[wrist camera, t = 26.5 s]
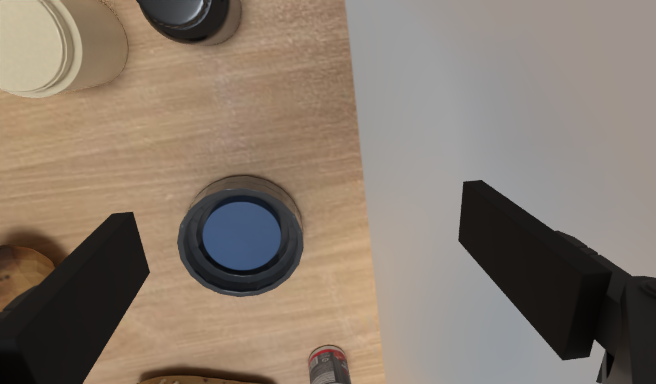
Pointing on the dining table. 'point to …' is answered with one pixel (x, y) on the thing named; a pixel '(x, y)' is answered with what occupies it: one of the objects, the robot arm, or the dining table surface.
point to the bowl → (232, 279)
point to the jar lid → (242, 233)
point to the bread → (190, 380)
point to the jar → (58, 46)
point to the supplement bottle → (193, 19)
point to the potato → (20, 271)
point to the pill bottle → (328, 366)
